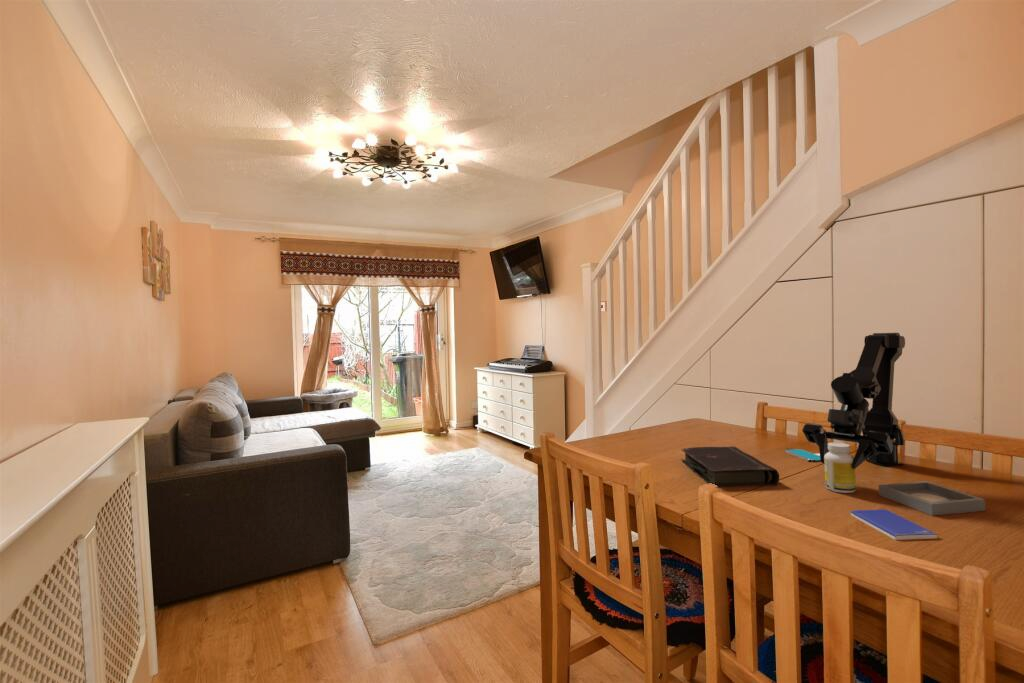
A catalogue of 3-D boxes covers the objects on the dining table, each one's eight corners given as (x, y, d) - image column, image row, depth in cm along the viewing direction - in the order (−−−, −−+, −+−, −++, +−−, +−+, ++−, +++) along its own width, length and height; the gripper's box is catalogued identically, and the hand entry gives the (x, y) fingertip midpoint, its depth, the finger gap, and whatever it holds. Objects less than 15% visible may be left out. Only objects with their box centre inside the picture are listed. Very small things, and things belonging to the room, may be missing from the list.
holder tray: (926, 490, 115) (926, 480, 115) (985, 510, 102) (984, 499, 102) (879, 495, 114) (878, 485, 114) (932, 515, 101) (931, 504, 101)
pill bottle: (862, 493, 116) (861, 447, 115) (836, 494, 116) (834, 448, 116) (844, 484, 122) (842, 441, 122) (819, 485, 122) (818, 442, 122)
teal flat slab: (854, 465, 140) (854, 459, 140) (817, 468, 139) (816, 462, 139) (807, 449, 160) (806, 444, 160) (774, 451, 159) (774, 446, 159)
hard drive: (937, 533, 91) (887, 509, 103) (894, 534, 91) (850, 510, 103) (937, 541, 91) (887, 516, 103) (895, 542, 91) (850, 517, 104)
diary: (737, 460, 149) (736, 445, 149) (779, 486, 124) (779, 468, 124) (679, 462, 150) (678, 447, 150) (709, 489, 125) (708, 470, 125)
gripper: (803, 394, 128) (787, 440, 122) (887, 400, 113) (873, 454, 107) (816, 418, 133) (801, 464, 127) (898, 427, 118) (885, 480, 112)
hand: (837, 465), depth 118 cm, fingers closed on pill bottle, 6 cm apart
